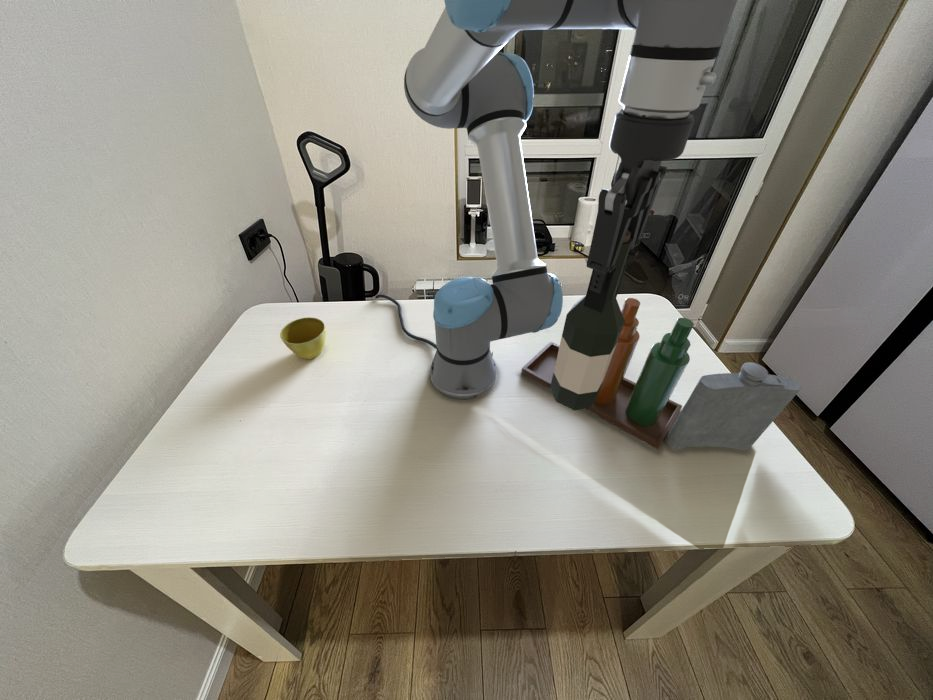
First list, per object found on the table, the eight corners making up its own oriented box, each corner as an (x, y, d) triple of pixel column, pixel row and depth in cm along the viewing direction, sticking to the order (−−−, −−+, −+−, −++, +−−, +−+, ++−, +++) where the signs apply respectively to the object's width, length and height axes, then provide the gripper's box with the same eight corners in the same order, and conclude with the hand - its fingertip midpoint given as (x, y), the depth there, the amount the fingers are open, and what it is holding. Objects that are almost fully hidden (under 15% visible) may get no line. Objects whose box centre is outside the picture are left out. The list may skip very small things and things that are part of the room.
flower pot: (298, 372, 89) (288, 349, 84) (283, 350, 95) (274, 328, 90) (338, 354, 93) (331, 332, 89) (322, 334, 99) (314, 312, 95)
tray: (520, 375, 88) (521, 368, 86) (549, 348, 95) (550, 341, 94) (656, 451, 72) (660, 445, 71) (678, 412, 80) (682, 405, 78)
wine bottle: (599, 414, 63) (661, 251, 43) (548, 406, 65) (587, 244, 44) (596, 378, 69) (650, 221, 49) (550, 372, 71) (585, 215, 50)
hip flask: (667, 450, 73) (712, 378, 59) (660, 433, 76) (701, 360, 62) (751, 452, 72) (815, 380, 59) (740, 434, 75) (798, 362, 62)
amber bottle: (580, 394, 83) (607, 303, 67) (594, 378, 86) (622, 288, 70) (608, 408, 79) (643, 317, 63) (620, 391, 83) (657, 300, 67)
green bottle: (619, 415, 78) (658, 323, 62) (632, 397, 82) (672, 306, 66) (650, 432, 75) (700, 339, 59) (662, 412, 79) (711, 321, 63)
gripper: (664, 130, 32) (598, 341, 47) (719, 103, 41) (648, 287, 57) (583, 117, 35) (546, 317, 51) (650, 95, 44) (601, 270, 60)
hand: (600, 301), depth 54 cm, fingers closed on wine bottle, 3 cm apart
